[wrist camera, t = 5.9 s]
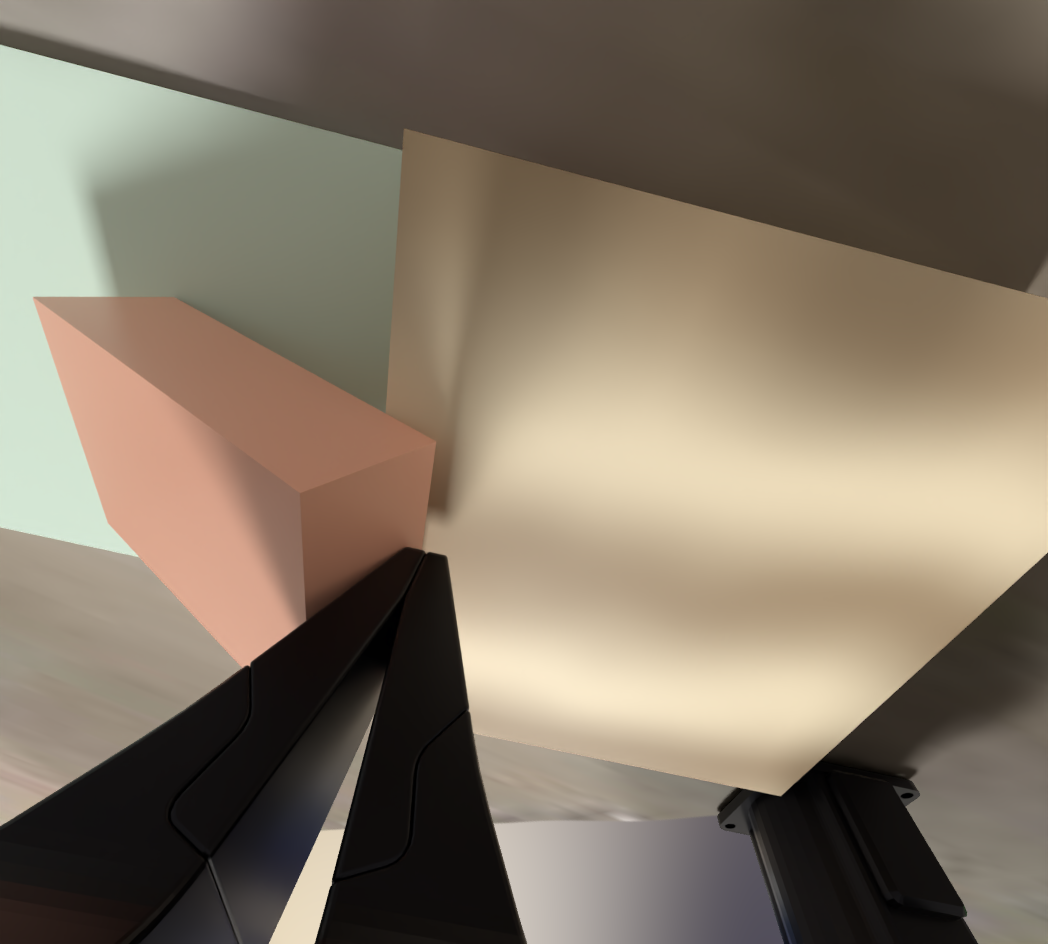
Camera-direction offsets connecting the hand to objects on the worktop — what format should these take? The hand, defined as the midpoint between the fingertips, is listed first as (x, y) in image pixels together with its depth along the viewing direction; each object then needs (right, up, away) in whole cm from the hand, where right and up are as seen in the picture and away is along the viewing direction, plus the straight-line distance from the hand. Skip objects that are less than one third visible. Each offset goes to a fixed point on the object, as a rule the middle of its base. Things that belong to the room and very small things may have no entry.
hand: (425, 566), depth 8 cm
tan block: (+5, +1, +5) cm, 7 cm away
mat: (-9, +5, +4) cm, 11 cm away
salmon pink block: (-5, +1, +1) cm, 5 cm away
